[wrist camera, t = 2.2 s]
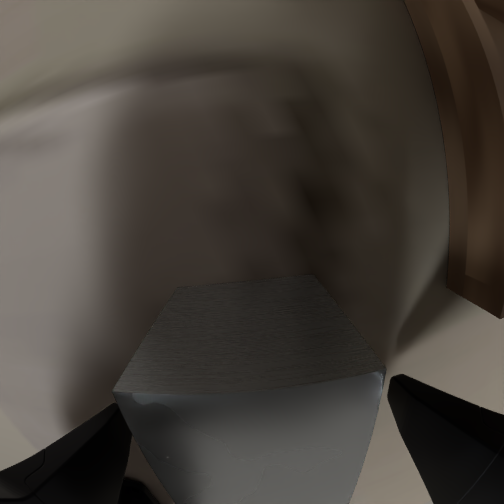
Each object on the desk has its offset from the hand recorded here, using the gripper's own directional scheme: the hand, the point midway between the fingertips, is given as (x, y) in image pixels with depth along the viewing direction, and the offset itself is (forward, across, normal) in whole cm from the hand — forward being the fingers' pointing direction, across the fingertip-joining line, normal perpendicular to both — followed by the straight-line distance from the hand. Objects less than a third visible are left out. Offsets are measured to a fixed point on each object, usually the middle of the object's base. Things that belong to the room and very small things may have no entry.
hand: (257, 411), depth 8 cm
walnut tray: (+1, -14, -9) cm, 17 cm away
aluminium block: (+1, 0, 0) cm, 1 cm away
